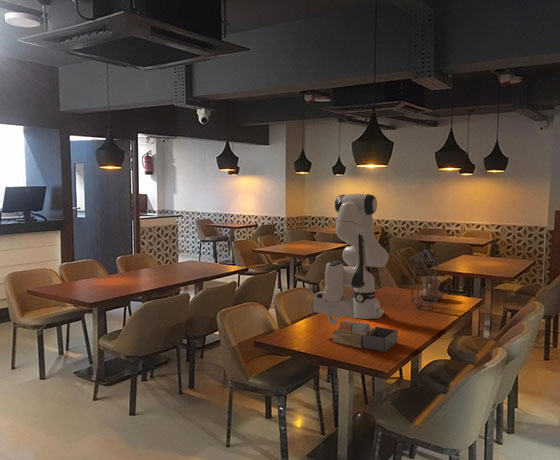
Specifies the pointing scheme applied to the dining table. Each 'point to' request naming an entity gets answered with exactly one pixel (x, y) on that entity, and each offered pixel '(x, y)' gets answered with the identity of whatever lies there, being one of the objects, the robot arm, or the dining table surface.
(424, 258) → the geometric lantern
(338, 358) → the dining table surface
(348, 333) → the board
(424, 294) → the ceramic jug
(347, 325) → the terracotta tile
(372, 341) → the tray
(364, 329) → the blue-grey tile
